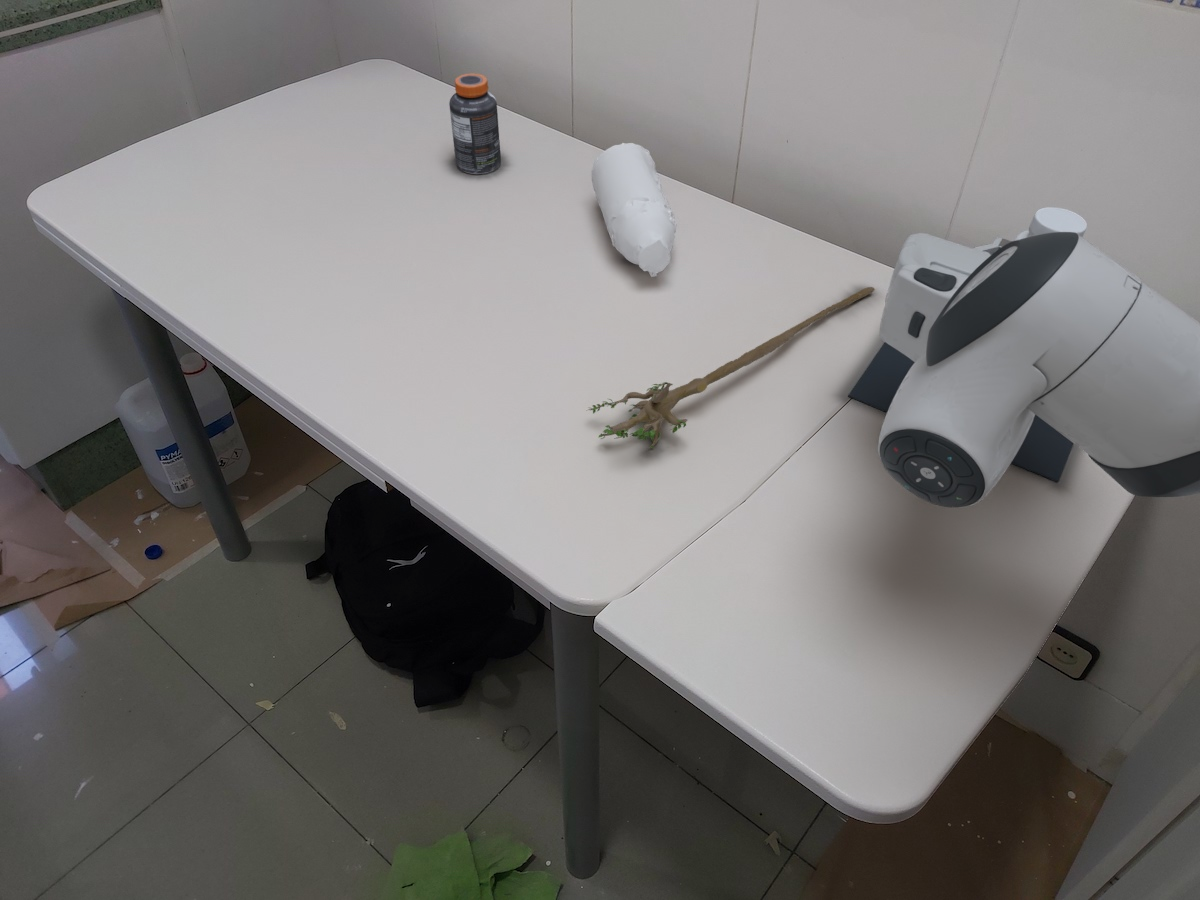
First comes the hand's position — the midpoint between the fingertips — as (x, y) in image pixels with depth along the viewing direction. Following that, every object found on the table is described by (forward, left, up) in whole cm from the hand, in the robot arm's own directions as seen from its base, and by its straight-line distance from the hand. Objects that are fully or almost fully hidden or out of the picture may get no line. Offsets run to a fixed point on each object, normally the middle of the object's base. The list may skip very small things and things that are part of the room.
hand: (1042, 258), depth 74 cm
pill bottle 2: (0, +1, -6) cm, 6 cm away
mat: (+1, -1, -16) cm, 17 cm away
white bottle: (+42, -6, -17) cm, 45 cm away
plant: (+20, +8, -17) cm, 27 cm away
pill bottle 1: (+69, -9, -17) cm, 71 cm away
